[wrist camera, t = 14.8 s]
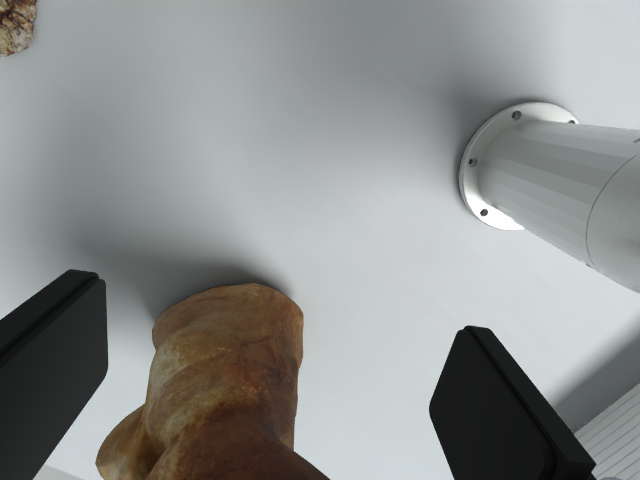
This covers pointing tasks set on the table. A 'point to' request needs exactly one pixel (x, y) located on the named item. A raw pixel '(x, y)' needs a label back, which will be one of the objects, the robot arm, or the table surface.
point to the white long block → (615, 438)
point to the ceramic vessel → (217, 393)
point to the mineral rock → (16, 25)
